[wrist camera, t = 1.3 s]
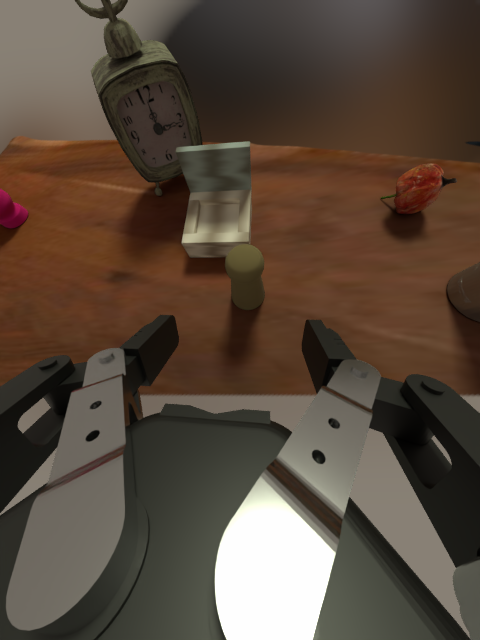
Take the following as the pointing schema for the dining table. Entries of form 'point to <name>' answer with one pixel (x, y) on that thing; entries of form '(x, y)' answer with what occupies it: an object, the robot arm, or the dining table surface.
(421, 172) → the pomegranate
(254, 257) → the cork
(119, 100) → the tabletop clock
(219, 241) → the stand
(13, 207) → the pepper mill
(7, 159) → the dining table surface
